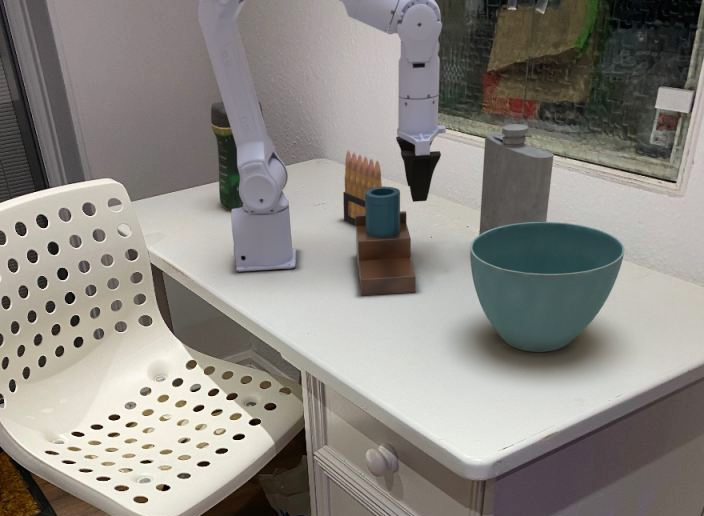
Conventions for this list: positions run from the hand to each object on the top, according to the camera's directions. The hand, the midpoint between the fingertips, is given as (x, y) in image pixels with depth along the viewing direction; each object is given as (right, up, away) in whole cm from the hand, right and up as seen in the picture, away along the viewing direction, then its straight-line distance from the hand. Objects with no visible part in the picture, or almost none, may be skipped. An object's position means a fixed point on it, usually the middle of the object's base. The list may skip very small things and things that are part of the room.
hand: (416, 192), depth 125 cm
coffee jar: (-29, +11, +34) cm, 46 cm away
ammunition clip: (-7, +2, +20) cm, 21 cm away
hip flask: (+14, -10, +3) cm, 18 cm away
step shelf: (-5, -12, +2) cm, 13 cm away
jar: (-5, -5, +1) cm, 8 cm away
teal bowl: (+13, -26, -18) cm, 34 cm away
